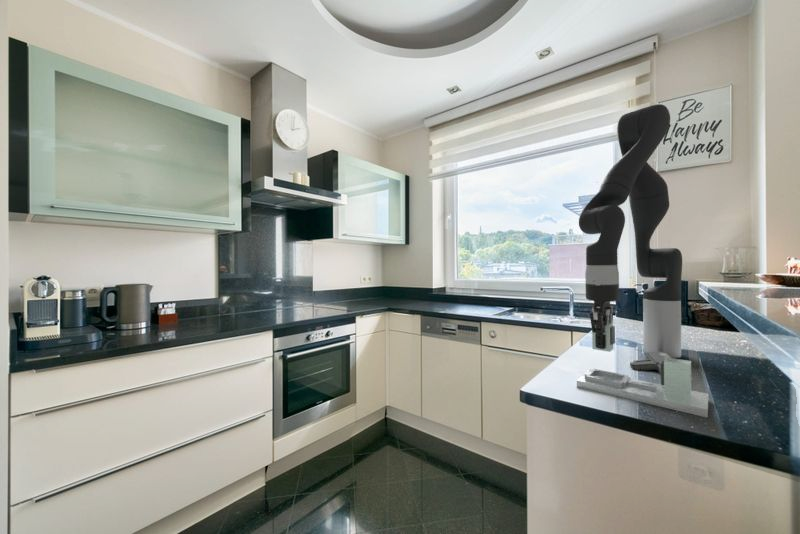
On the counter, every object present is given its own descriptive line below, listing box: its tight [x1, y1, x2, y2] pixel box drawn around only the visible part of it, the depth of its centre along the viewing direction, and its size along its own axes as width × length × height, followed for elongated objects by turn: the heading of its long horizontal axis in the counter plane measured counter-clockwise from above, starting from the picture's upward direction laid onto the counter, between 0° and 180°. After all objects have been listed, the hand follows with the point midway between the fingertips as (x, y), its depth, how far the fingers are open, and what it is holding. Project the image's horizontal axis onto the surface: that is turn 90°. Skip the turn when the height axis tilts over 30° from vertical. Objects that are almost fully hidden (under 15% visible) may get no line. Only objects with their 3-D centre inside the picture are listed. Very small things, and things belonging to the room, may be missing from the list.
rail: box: [576, 357, 709, 418], centre depth 70 cm, size 10×22×8 cm, turn 45°
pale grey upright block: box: [591, 322, 616, 353], centre depth 85 cm, size 4×4×7 cm
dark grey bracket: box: [629, 352, 671, 375], centre depth 88 cm, size 4×16×10 cm
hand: (602, 346), depth 85 cm, fingers closed on pale grey upright block, 3 cm apart
